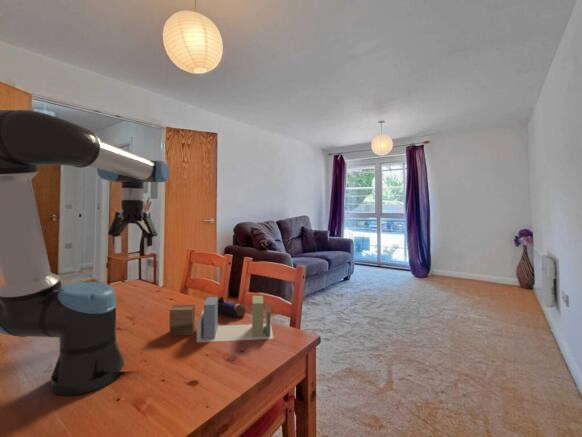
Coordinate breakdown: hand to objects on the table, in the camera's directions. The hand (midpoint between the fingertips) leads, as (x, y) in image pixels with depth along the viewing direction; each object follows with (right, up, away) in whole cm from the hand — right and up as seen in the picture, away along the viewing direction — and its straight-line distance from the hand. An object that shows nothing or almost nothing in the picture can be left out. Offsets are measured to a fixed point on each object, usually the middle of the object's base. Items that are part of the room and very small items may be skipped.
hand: (132, 253), depth 112 cm
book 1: (+26, -26, -16) cm, 40 cm away
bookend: (+54, -25, -14) cm, 61 cm away
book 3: (+51, -25, -15) cm, 59 cm away
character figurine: (+38, -26, +1) cm, 45 cm away
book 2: (+36, -25, -17) cm, 46 cm away
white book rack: (+44, -26, -16) cm, 53 cm away
